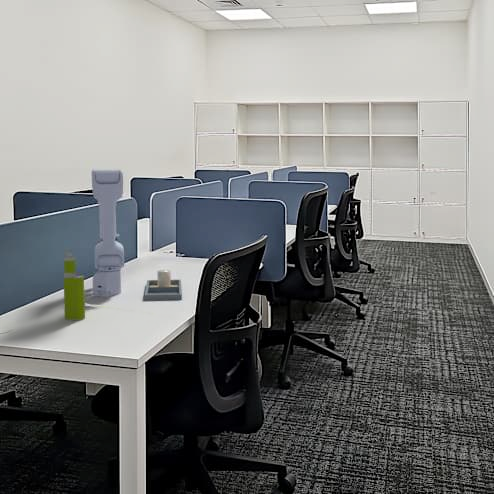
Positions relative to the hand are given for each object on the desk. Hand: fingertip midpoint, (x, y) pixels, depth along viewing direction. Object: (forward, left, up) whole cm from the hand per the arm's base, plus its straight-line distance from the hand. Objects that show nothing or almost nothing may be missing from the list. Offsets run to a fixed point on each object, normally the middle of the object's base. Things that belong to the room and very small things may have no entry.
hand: (108, 260), depth 246 cm
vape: (-41, -20, -10) cm, 47 cm away
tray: (-2, -25, -9) cm, 27 cm away
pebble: (+3, -22, -8) cm, 24 cm away
